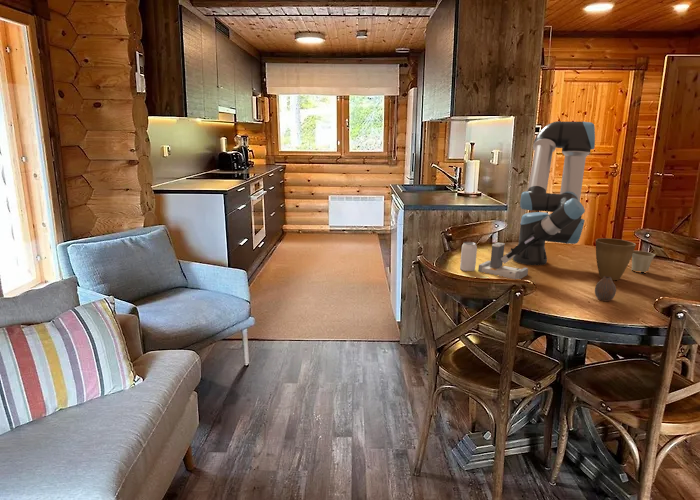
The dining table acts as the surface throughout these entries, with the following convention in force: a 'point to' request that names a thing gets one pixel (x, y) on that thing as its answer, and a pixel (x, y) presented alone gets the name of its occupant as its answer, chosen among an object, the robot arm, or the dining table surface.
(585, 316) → the dining table surface
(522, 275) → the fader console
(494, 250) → the fader tab
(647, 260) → the flower pot
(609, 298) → the vase
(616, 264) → the plant pot
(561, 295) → the dining table surface
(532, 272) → the dining table surface
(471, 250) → the can
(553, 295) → the dining table surface
